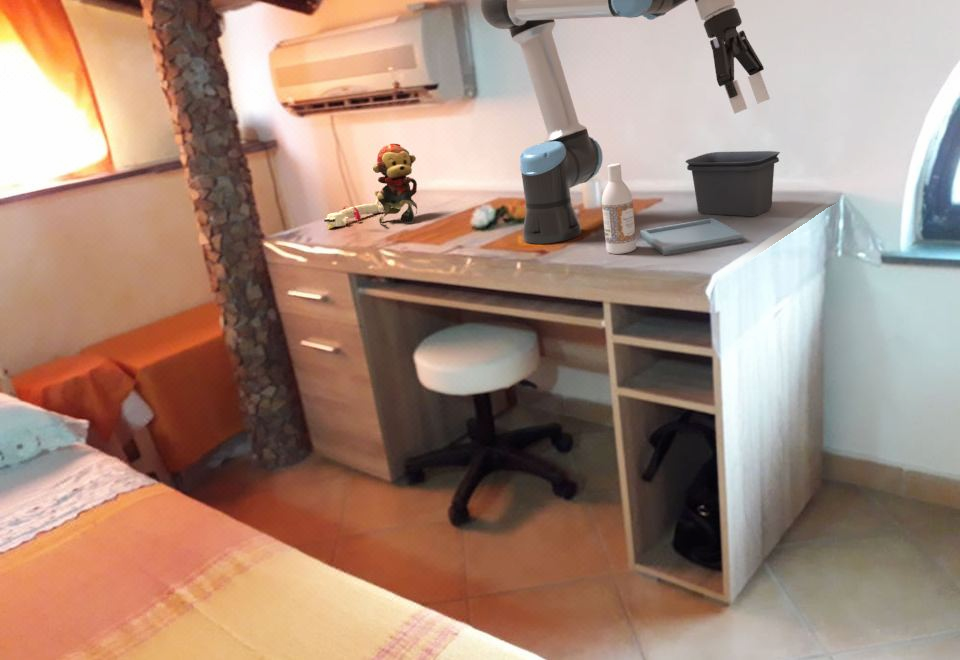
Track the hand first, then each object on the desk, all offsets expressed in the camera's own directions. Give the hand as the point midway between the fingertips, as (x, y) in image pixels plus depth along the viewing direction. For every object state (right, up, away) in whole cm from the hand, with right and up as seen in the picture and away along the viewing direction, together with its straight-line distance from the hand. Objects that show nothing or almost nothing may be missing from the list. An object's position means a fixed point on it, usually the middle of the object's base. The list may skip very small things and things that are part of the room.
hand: (752, 106), depth 174 cm
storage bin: (+5, -19, +27) cm, 34 cm away
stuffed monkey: (-86, -15, +79) cm, 118 cm away
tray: (-12, -29, +8) cm, 32 cm away
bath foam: (-28, -31, +9) cm, 43 cm away
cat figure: (-102, -13, +91) cm, 138 cm away
